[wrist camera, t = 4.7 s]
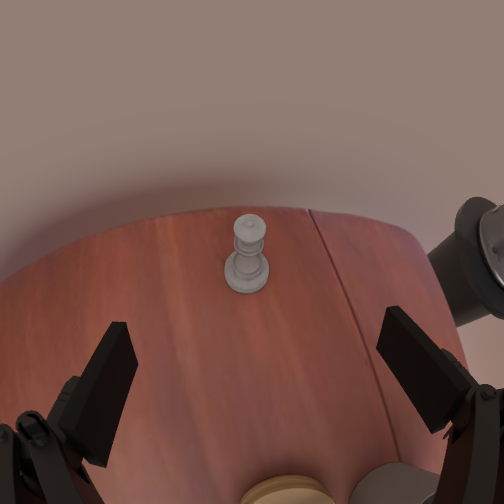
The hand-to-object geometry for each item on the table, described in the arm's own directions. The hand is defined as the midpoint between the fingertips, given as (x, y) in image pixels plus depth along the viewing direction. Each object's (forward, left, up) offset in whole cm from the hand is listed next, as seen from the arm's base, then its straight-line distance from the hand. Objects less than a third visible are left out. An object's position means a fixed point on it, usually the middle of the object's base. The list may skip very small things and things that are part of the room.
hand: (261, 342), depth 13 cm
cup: (-22, +5, -13) cm, 26 cm away
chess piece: (+5, -7, -13) cm, 16 cm away
